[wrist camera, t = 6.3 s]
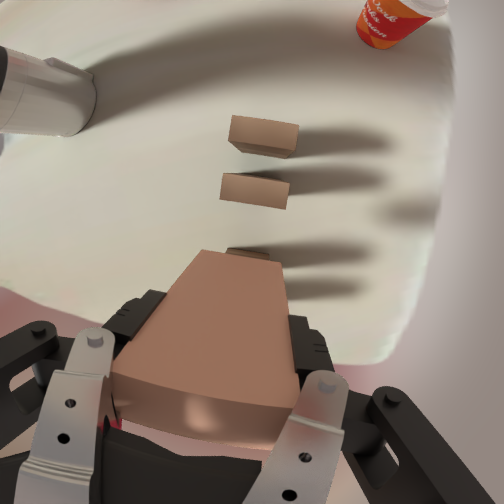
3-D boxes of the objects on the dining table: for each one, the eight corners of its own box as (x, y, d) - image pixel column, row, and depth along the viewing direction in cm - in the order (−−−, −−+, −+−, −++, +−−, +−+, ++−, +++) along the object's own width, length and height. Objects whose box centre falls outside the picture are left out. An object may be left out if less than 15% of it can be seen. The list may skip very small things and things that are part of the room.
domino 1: (201, 249, 18) (107, 369, 6) (281, 262, 18) (302, 408, 6) (198, 279, 18) (117, 416, 7) (275, 291, 18) (283, 450, 7)
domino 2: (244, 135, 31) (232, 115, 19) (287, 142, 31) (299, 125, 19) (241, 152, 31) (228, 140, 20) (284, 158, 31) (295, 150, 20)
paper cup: (344, 7, 25) (374, -53, 11) (395, 17, 24) (440, -30, 11) (352, 52, 27) (394, -2, 14) (405, 61, 27) (462, 23, 13)
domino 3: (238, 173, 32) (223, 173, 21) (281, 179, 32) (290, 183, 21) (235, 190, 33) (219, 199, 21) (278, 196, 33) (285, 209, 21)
